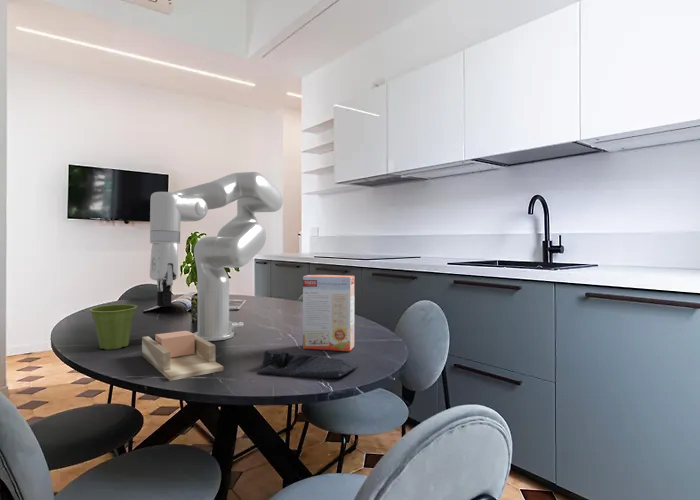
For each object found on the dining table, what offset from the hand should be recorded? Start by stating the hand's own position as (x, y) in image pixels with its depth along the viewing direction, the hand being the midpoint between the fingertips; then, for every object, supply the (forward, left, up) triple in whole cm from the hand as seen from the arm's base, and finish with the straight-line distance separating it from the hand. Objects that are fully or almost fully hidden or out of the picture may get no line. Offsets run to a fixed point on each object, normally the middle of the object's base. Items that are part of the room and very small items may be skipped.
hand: (164, 305), depth 115 cm
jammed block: (-1, +8, -11) cm, 14 cm away
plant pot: (+9, -15, -13) cm, 22 cm away
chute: (-1, +12, -13) cm, 17 cm away
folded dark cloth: (-23, +36, -14) cm, 45 cm away
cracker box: (-39, +23, -13) cm, 47 cm away
